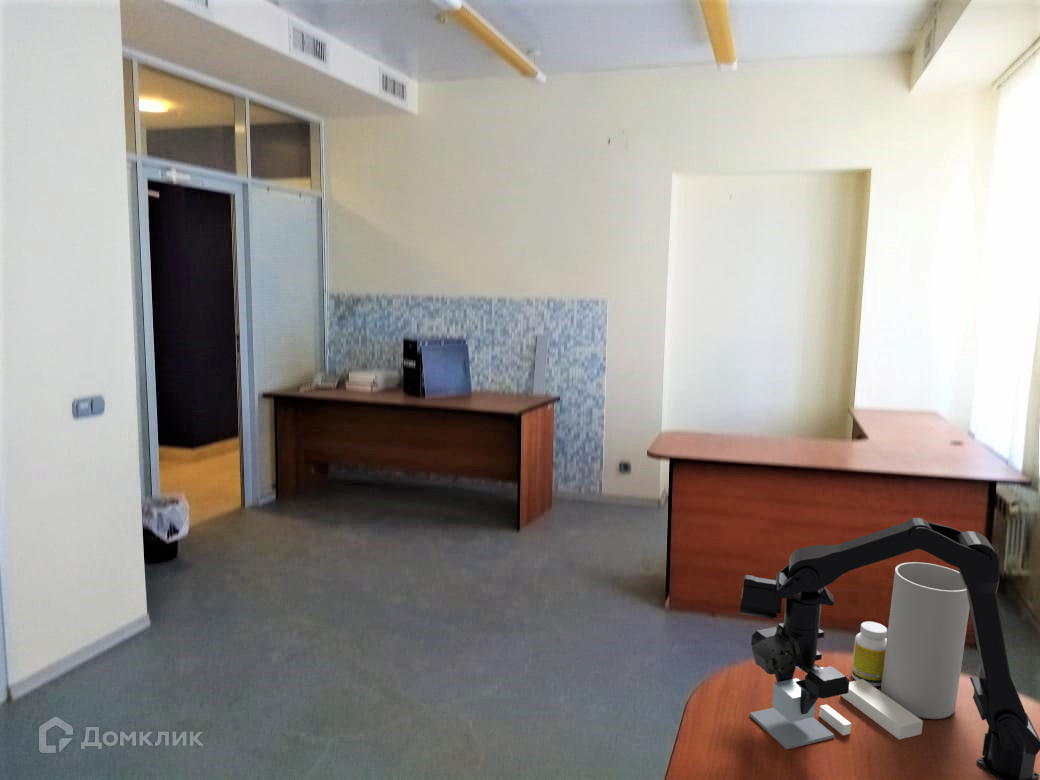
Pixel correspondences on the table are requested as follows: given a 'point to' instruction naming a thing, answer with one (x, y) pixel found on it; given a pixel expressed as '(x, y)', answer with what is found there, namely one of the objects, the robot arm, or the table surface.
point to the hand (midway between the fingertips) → (793, 705)
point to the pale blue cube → (790, 700)
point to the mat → (791, 728)
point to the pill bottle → (869, 653)
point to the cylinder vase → (925, 639)
